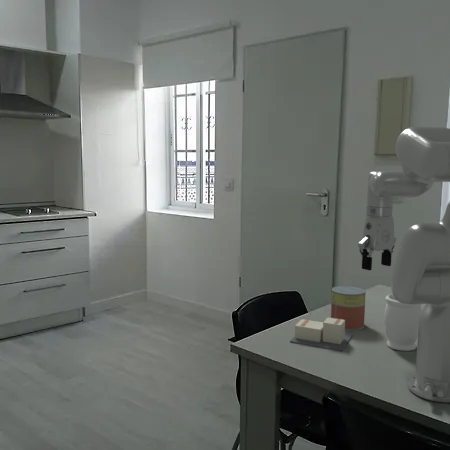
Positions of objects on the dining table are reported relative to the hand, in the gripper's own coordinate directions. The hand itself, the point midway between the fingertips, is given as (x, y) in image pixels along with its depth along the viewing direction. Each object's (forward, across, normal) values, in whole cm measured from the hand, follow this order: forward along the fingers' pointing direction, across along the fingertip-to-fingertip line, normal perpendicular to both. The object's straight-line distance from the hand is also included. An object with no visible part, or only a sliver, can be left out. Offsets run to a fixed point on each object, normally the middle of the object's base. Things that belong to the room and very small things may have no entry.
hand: (376, 267), depth 153 cm
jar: (+23, +1, -9) cm, 25 cm away
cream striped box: (+23, -16, +12) cm, 30 cm away
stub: (+23, -12, +5) cm, 26 cm away
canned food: (+23, +4, +14) cm, 27 cm away
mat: (+23, -14, +9) cm, 28 cm away
